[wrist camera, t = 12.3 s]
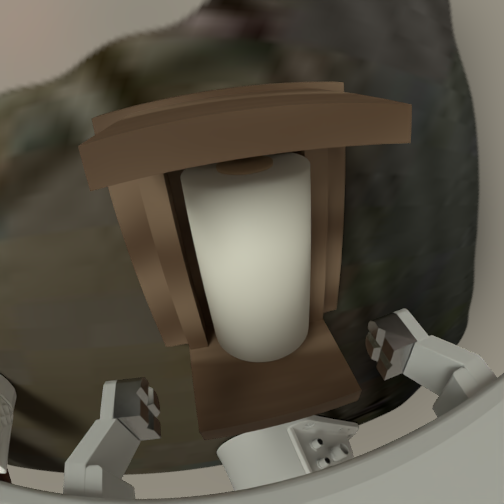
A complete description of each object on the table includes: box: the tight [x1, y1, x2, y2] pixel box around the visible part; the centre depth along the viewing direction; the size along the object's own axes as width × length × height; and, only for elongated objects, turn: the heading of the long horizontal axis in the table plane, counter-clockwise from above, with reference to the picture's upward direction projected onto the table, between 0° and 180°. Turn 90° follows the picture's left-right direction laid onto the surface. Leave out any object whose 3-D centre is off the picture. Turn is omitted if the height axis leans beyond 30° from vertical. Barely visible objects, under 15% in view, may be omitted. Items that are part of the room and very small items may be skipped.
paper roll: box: [180, 152, 311, 362], centre depth 15 cm, size 10×6×6 cm, turn 6°
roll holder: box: [78, 82, 412, 440], centre depth 15 cm, size 16×13×10 cm
